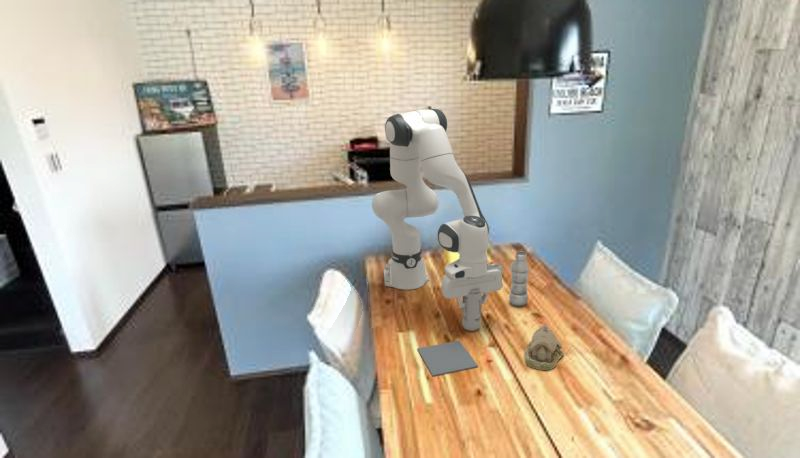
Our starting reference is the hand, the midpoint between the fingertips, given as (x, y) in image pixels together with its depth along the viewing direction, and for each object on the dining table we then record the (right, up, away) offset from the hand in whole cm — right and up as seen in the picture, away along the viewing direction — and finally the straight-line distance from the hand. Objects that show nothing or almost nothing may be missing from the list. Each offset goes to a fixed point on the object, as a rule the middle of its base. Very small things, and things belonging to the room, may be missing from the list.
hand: (471, 305), depth 151 cm
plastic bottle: (+20, -3, +17) cm, 26 cm away
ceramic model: (+19, -14, -13) cm, 27 cm away
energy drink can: (0, -8, +3) cm, 8 cm away
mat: (-10, -14, -13) cm, 21 cm away
